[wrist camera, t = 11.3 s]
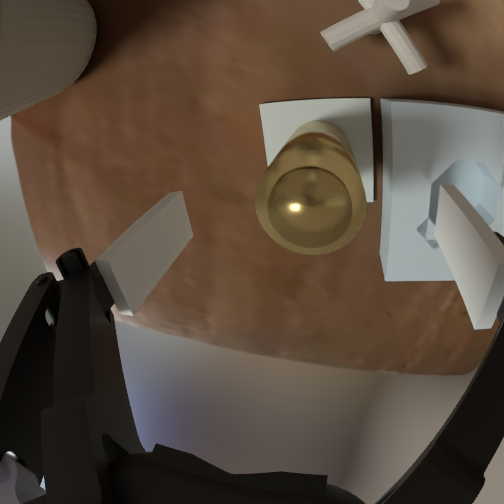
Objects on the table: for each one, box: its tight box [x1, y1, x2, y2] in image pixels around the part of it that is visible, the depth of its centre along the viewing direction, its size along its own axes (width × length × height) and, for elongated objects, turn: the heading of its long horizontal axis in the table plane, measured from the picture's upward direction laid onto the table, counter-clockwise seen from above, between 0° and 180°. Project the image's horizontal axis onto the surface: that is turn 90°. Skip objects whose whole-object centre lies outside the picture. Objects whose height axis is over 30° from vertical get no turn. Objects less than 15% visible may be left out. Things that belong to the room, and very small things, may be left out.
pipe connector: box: [320, 0, 440, 75], centre depth 15 cm, size 10×10×10 cm
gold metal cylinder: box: [255, 121, 367, 255], centre depth 21 cm, size 6×6×14 cm
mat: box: [259, 98, 373, 202], centre depth 27 cm, size 10×10×1 cm
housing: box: [380, 98, 504, 281], centre depth 23 cm, size 16×14×5 cm
